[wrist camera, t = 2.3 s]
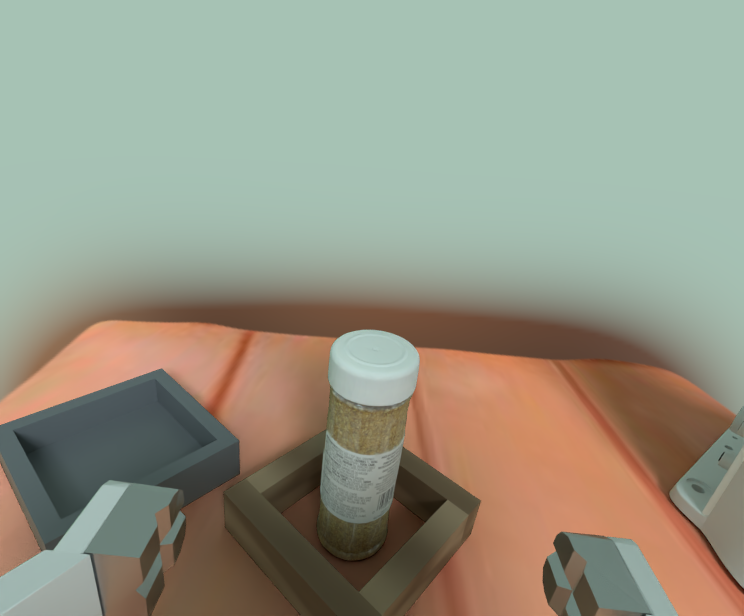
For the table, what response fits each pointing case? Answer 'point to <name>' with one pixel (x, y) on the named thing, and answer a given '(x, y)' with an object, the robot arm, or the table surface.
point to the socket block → (310, 569)
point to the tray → (113, 450)
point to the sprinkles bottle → (364, 439)
